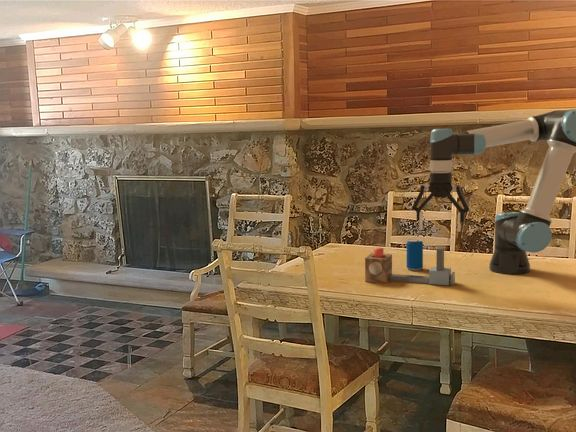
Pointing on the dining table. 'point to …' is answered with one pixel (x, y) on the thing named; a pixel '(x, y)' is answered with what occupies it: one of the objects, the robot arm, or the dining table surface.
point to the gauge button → (378, 252)
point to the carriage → (439, 270)
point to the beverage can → (414, 254)
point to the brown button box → (378, 268)
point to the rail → (416, 278)
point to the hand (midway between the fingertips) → (439, 230)
